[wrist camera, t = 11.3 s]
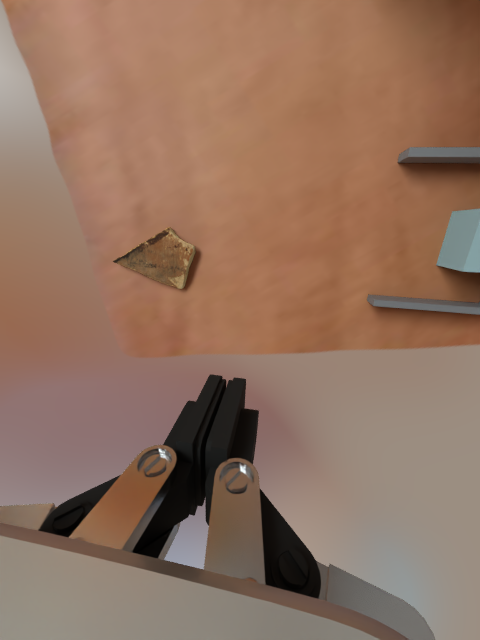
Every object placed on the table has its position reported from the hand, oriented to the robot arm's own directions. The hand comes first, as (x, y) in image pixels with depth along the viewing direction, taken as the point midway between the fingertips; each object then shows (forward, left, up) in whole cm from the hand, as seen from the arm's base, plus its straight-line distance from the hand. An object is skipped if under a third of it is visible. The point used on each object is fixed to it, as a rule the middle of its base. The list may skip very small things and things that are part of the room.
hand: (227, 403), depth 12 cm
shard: (-2, -15, -26) cm, 30 cm away
